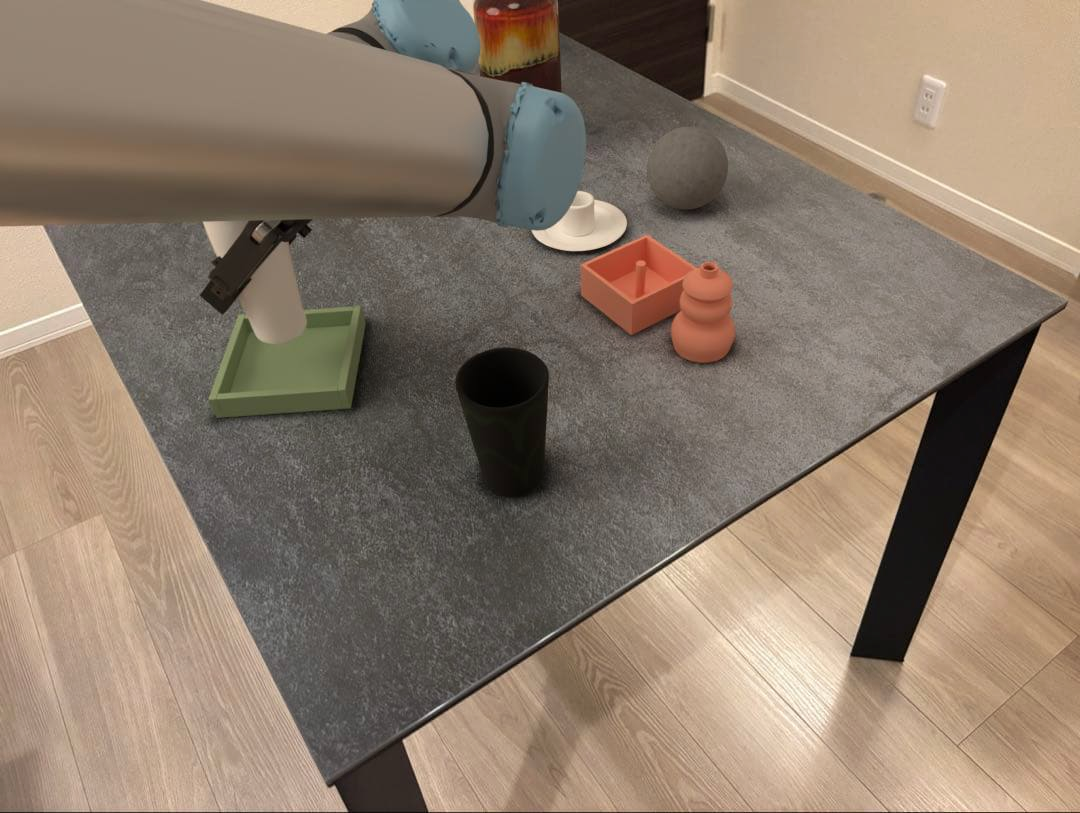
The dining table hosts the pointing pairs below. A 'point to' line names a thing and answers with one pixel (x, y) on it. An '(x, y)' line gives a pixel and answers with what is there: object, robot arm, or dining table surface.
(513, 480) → the cup
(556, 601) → the dining table surface
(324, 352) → the green shallow square tray
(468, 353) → the dining table surface
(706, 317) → the pottery
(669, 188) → the decorative ball
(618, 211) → the candle holder
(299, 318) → the drinking glass
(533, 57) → the vase
